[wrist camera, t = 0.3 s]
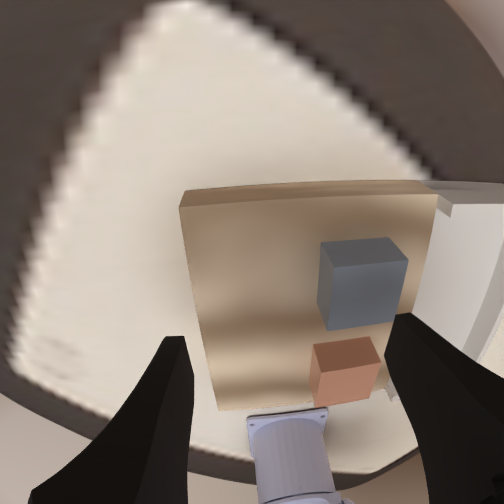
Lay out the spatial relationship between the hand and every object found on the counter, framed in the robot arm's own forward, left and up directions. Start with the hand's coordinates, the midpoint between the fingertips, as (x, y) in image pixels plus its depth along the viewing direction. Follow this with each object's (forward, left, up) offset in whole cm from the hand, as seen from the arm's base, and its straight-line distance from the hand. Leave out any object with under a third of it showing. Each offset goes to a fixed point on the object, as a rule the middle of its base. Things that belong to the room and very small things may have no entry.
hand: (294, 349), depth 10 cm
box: (-6, -14, -10) cm, 18 cm away
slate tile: (-2, -5, -7) cm, 9 cm away
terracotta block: (-9, -5, -7) cm, 13 cm away
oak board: (-6, -3, -10) cm, 12 cm away
